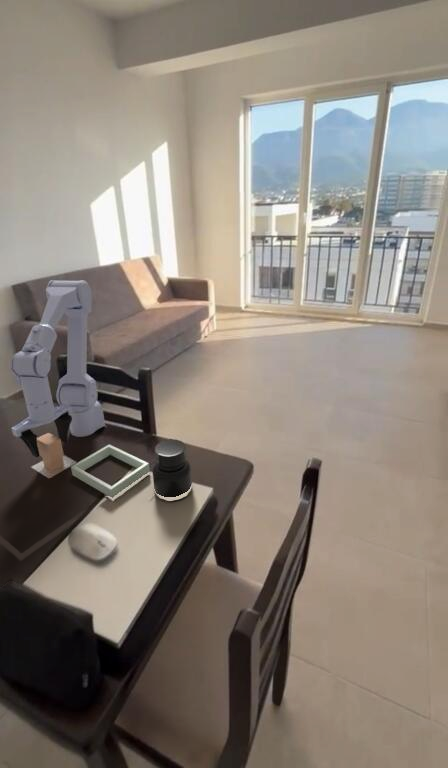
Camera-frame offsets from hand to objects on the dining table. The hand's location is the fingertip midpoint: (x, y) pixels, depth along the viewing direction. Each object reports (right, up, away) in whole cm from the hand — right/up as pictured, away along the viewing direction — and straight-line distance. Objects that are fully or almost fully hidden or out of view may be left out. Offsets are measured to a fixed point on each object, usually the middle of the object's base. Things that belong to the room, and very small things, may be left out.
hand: (50, 448), depth 97 cm
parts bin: (+16, -7, -1) cm, 17 cm away
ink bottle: (+32, -9, -5) cm, 33 cm away
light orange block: (0, -5, +2) cm, 5 cm away
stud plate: (0, -5, +3) cm, 6 cm away
